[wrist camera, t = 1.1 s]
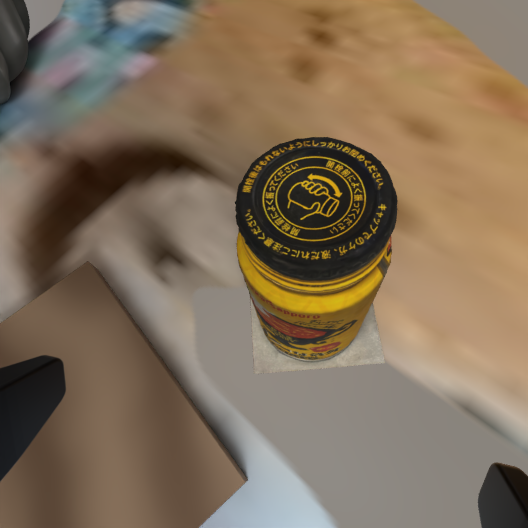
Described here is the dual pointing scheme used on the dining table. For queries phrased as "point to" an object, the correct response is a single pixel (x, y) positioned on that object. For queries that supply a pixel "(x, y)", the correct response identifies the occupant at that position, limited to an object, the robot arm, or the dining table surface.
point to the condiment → (315, 253)
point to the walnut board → (109, 423)
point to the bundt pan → (12, 43)
